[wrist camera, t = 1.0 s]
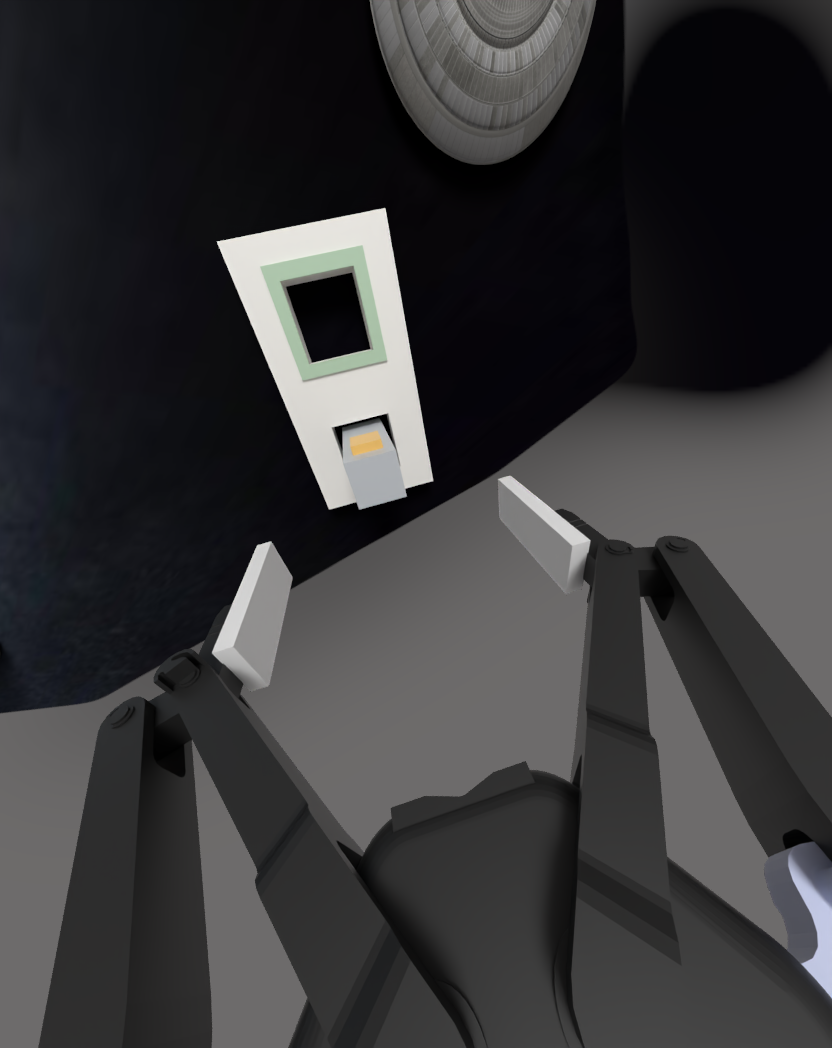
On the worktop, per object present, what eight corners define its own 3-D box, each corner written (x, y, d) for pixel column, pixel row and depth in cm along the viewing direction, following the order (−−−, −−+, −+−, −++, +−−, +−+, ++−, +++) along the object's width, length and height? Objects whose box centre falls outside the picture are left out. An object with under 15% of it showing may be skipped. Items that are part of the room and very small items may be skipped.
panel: (330, 499, 34) (329, 510, 32) (228, 251, 22) (215, 240, 20) (427, 472, 35) (433, 481, 33) (381, 220, 23) (385, 207, 21)
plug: (354, 462, 33) (359, 509, 24) (340, 420, 30) (339, 454, 21) (388, 453, 33) (406, 496, 24) (377, 411, 31) (393, 440, 21)
